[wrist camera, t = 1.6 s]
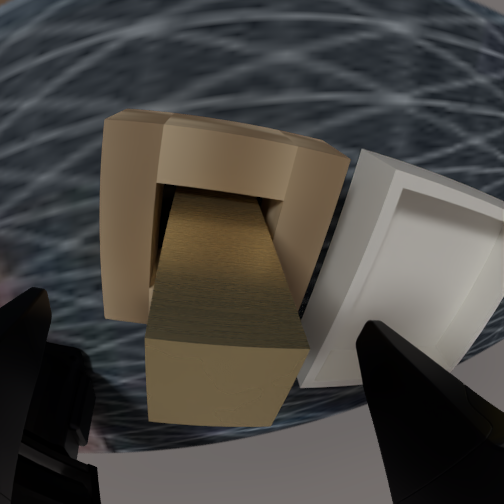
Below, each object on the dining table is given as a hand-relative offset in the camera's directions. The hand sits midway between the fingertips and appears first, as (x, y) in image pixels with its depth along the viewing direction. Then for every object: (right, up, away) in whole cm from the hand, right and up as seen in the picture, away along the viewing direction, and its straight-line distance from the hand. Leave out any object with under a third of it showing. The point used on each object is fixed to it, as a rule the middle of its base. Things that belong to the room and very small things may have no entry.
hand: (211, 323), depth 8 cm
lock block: (-1, +3, +6) cm, 7 cm away
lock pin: (-1, +4, +6) cm, 7 cm away
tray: (+10, 0, +9) cm, 14 cm away
